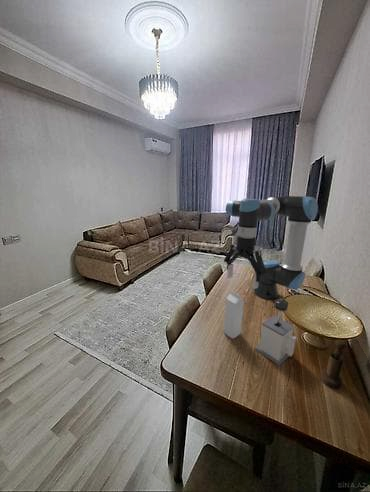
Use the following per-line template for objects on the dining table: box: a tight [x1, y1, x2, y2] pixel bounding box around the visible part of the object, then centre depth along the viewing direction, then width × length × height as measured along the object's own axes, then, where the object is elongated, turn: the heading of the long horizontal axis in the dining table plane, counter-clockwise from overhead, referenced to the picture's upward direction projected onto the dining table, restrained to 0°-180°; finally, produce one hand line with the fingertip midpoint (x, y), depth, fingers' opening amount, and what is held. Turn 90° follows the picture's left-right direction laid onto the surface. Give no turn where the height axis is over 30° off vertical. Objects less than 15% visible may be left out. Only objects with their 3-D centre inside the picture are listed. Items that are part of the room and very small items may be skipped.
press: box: [255, 315, 297, 367], centre depth 89 cm, size 11×13×14 cm
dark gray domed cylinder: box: [273, 298, 289, 327], centre depth 87 cm, size 6×6×14 cm
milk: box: [222, 290, 245, 340], centre depth 100 cm, size 6×6×22 cm
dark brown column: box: [320, 338, 346, 390], centre depth 76 cm, size 7×6×18 cm
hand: (241, 282), depth 94 cm, fingers open, 13 cm apart
